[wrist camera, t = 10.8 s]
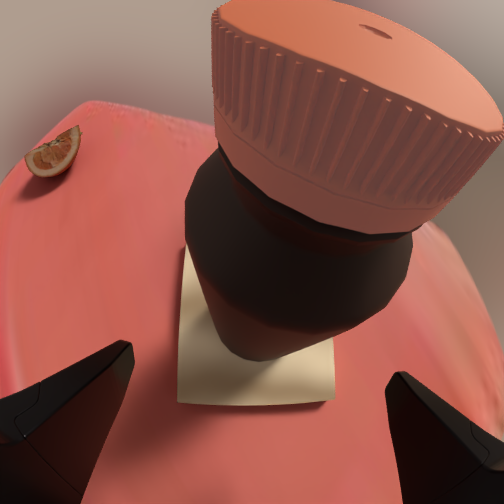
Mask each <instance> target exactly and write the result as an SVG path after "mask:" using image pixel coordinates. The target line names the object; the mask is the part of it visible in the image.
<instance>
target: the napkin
mask: <svg viewBox="0 0 504 504" xmlns="http://www.w3.org/2000/svg"><path fill="white" fill-rule="evenodd" d="M334 399H335V372H334V350H333V337H332V338H329V339H327V340H324V341H322V342H320V343H317V344H315V345H312V346H309V347H307V348H304V349H302V350H299V351H296V352H294V353H291V354H288V355H286V356H283V357H280V358H277V359H274V360H270V361H262V362H256V361H250V360H245V359H242V358H241V357H239V356H237V355H235V354H233V353H232V352H230V350H229V349H228V348H227V347H226V346H225V345H224V344H223V343H222V342H221V340H220V337H219V335H218V333H217V331H216V328H215V326H214V323H213V320H212V317H211V315H210V312H209V309H208V306H207V303H206V301H205V298H204V295H203V292H202V289H201V286H200V283H199V280H198V277H197V274H196V271H195V268H194V265H193V262H192V259H191V256H190V253H189V249H188V246H187V243H186V251H185V260H184V271H183V282H182V294H181V308H180V324H179V344H178V375H177V402H179V403H191V404H206V405H280V404H295V403H307V402H317V401H326V400H334Z"/></svg>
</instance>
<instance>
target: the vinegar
mask: <svg viewBox="0 0 504 504" xmlns="http://www.w3.org/2000/svg"><path fill="white" fill-rule="evenodd" d="M211 21H212V25H211V27H212V28H211V30H212V31H211V35H212V38H211V39H212V87H213V94H214V118H215V119H214V121H215V136H216V138H217V140H218V148H217V149H216V150H215V151H214V152H213V154H212V155H211V156H210V157H209V158H208V159H207V160H206V161H205V162H204V163H203V164H202V165H201V166H200V168H199V169H198V170H197V173H196V175H195V177H194V180H193V182H192V185H191V187H190V190H189V192H188V195H187V197H186V200H185V240H186V243H187V246H188V249H189V253H190V256H191V259H192V262H193V265H194V268H195V271H196V274H197V277H198V280H199V283H200V286H201V289H202V292H203V295H204V298H205V301H206V303H207V306H208V309H209V312H210V315H211V317H212V320H213V323H214V326H215V328H216V331H217V333H218V335H219V337H220V340H221V342H222V343H223V344H224V345H225V346H226V347H227V348H228V349H229V350H230V352H232V353H233V354H235V355H237V356H239V357H241V358H242V359H245V360H250V361H256V362H262V361H270V360H274V359H277V358H280V357H283V356H286V355H288V354H291V353H294V352H296V351H299V350H302V349H304V348H307V347H309V346H312V345H315V344H317V343H320V342H322V341H324V340H327V339H329V338H332V337H334V336H336V335H339V334H341V333H343V332H346V331H348V330H350V329H352V328H354V327H356V326H357V325H359V324H360V323H362V322H364V321H365V320H367V319H368V318H370V317H372V316H373V315H375V314H376V313H378V312H379V311H381V310H382V309H384V308H385V307H386V306H387V304H388V303H389V301H390V300H391V299H392V297H393V296H394V294H395V293H396V291H397V290H398V289H399V287H400V286H401V284H402V283H403V281H404V280H405V277H406V274H407V270H408V266H409V262H410V257H411V253H412V248H413V241H412V232H414V231H415V230H417V229H419V228H420V227H421V226H422V225H423V224H424V223H425V222H427V221H429V220H431V219H432V218H434V217H435V216H436V215H437V214H438V213H439V212H440V211H441V210H442V209H443V208H444V207H445V206H446V205H447V204H448V203H449V202H450V201H451V200H452V199H453V198H454V196H456V195H457V193H458V192H459V191H460V190H461V189H462V187H463V186H464V185H465V184H466V183H467V182H468V181H469V180H470V179H471V178H472V176H473V175H474V174H475V173H476V172H477V170H479V168H480V167H481V166H482V165H483V164H484V163H485V161H486V160H487V159H488V158H489V156H490V155H491V154H492V153H493V152H494V151H495V149H496V148H497V147H498V146H499V144H500V143H501V142H502V140H503V139H504V123H503V117H502V116H501V113H500V111H499V110H498V108H497V106H496V104H495V102H494V100H493V99H492V97H491V96H490V95H489V94H488V92H487V91H486V90H485V89H484V87H483V86H482V85H481V84H480V83H479V82H478V80H477V79H476V78H475V77H474V76H473V75H472V74H470V73H469V72H468V71H467V70H466V69H465V68H464V67H463V66H462V65H461V64H460V63H458V62H457V61H456V60H455V59H453V58H452V57H451V56H450V55H448V54H447V53H446V52H444V51H443V50H441V49H440V48H439V47H437V46H436V45H434V44H433V43H431V42H430V41H428V40H427V39H425V38H423V37H422V36H420V35H418V34H416V33H415V32H413V31H411V30H409V29H407V28H405V27H403V26H401V25H399V24H397V23H395V22H393V21H391V20H389V19H386V18H383V17H382V16H379V15H377V14H374V13H372V12H369V11H366V10H363V9H359V8H357V7H353V6H350V5H346V4H343V3H339V2H335V1H330V0H231V1H229V2H227V3H225V4H224V5H221V7H219V8H217V10H214V13H212V17H211Z"/></svg>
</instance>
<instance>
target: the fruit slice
mask: <svg viewBox="0 0 504 504" xmlns="http://www.w3.org/2000/svg"><path fill="white" fill-rule="evenodd" d="M81 134H82V132H80V128H79V125H77V126H75V127H73V128H71V129H69V130H67V131H65V132H63V133H62V134H60V135H59V136H57V138H56V139H55V140H53V141H51V142H49V143H44V144H43V145H41V146H39V147H38V148H36V149H34V150H32V151H31V152H29V153H27V154H26V155H25V162H26V165H27V167H28V169H29V171H30V172H32V173H33V174H34V175H36V176H38V177H53V176H56V175H59V174H61V173H62V172H64V171H65V170H66V169H68V168H69V167H70V166H71V164H72V163H73V161H74V160H75V158H76V155H77V152H78V149H79V146H80V142H81V137H80V136H81Z"/></svg>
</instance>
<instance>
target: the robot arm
mask: <svg viewBox="0 0 504 504" xmlns="http://www.w3.org/2000/svg"><path fill="white" fill-rule="evenodd" d="M134 365H135V359H134V353H133V346H132V343H131V342H128V341H124V340H118V341H116V342H114V343H112V344H111V345H109V346H107V347H105V348H103V349H101V350H99V351H97V352H96V353H94V354H92V355H90V356H88V357H86V358H84V359H82V360H80V361H78V362H77V363H75V364H73V365H71V366H69V367H67V368H65V369H63V370H61V371H59V372H57V373H56V374H54V375H52V376H50V377H48V378H46V379H44V380H42V381H41V382H38V383H36V384H34V385H32V386H30V387H28V388H26V389H24V390H22V391H19V392H17V393H15V394H12V395H10V396H7V397H4V398H2V399H0V504H81V501H82V498H83V497H82V496H83V495H84V492H85V490H86V487H87V485H88V482H89V479H90V477H91V474H92V472H93V469H94V467H95V464H96V462H97V459H98V457H99V455H100V452H101V450H102V448H103V445H104V443H105V440H106V438H107V436H108V434H109V431H110V429H111V427H112V424H113V422H114V420H115V418H116V416H117V413H118V411H119V409H120V407H121V404H122V402H123V399H124V396H125V393H126V390H127V386H128V383H129V380H130V377H131V374H132V371H133V368H134ZM385 398H386V405H387V413H388V421H389V428H390V433H391V438H392V443H393V447H394V452H395V457H396V463H397V468H398V474H399V480H400V486H401V493H402V500H403V504H504V442H502V441H500V440H499V439H497V438H495V437H494V436H492V435H491V434H489V433H488V432H486V431H484V430H483V429H482V428H480V427H479V426H478V425H476V424H475V423H474V422H472V421H471V420H469V419H468V418H467V417H465V416H464V415H463V414H462V413H460V412H459V411H458V410H456V409H455V408H454V407H452V406H451V405H450V404H448V403H447V402H446V401H444V400H443V399H442V398H440V397H439V396H438V395H436V394H435V393H434V392H432V391H431V390H430V389H428V388H427V387H426V386H424V385H423V384H422V383H420V382H419V381H418V380H416V379H415V378H414V377H412V376H411V375H410V374H409V373H407V372H405V371H398V372H395V373H394V374H393V376H392V378H391V379H390V381H389V383H388V384H387V386H386V388H385Z"/></svg>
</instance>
